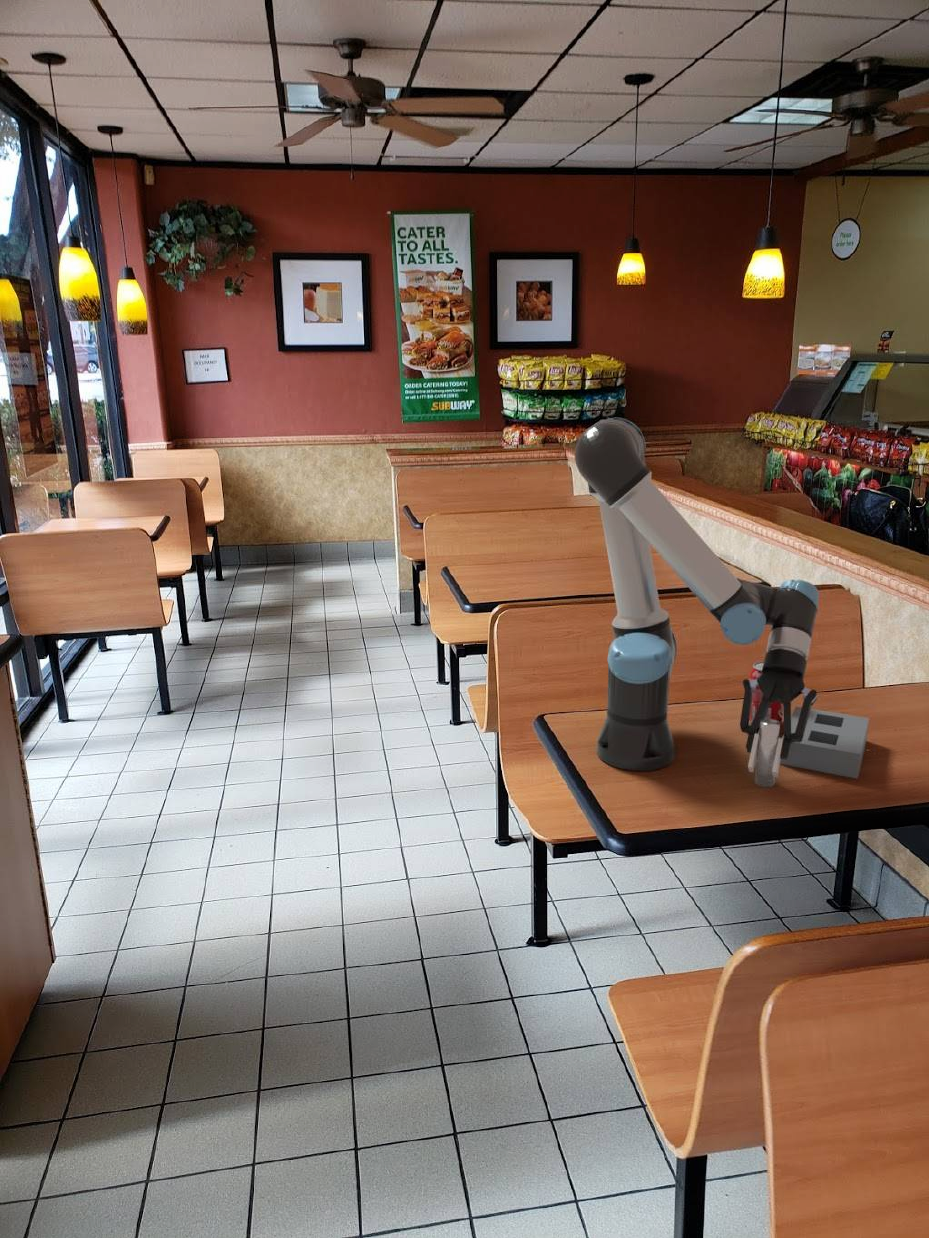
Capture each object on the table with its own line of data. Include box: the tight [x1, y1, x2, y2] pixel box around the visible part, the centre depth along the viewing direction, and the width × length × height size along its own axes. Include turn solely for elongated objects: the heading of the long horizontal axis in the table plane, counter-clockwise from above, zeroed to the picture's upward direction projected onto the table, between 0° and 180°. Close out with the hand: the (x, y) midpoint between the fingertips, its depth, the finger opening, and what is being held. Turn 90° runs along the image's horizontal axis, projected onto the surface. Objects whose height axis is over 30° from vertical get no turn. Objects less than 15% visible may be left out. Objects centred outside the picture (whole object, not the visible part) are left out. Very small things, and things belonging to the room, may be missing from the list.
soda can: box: [749, 660, 784, 725], centre depth 184 cm, size 7×7×13 cm
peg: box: [754, 719, 782, 788], centre depth 160 cm, size 4×4×12 cm
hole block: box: [780, 706, 870, 779], centre depth 172 cm, size 14×18×5 cm
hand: (762, 771), depth 157 cm, fingers closed on peg, 3 cm apart
